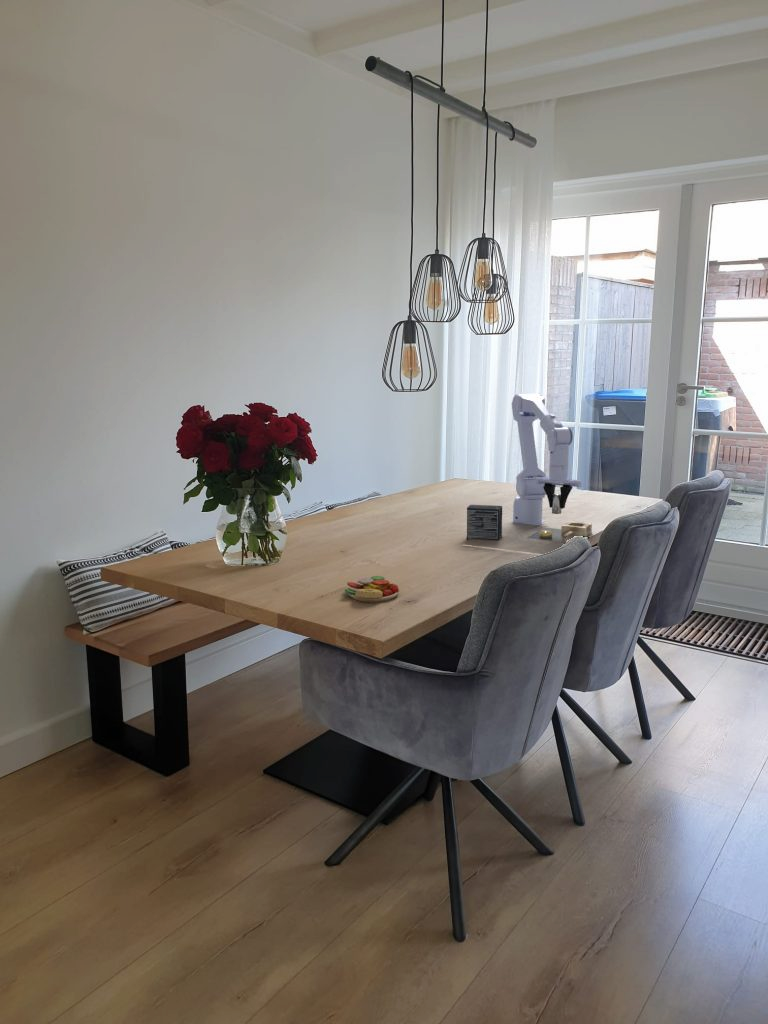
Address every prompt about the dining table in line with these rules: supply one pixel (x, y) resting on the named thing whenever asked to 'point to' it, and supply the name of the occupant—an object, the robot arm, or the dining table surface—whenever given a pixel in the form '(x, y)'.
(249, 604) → the dining table surface
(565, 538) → the beech rail
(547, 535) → the gold metal dome
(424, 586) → the dining table surface
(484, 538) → the small box
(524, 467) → the robot arm
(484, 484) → the dining table surface
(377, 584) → the toy food set
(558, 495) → the steel pin
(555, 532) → the slate board
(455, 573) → the dining table surface
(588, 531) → the beech socket block
